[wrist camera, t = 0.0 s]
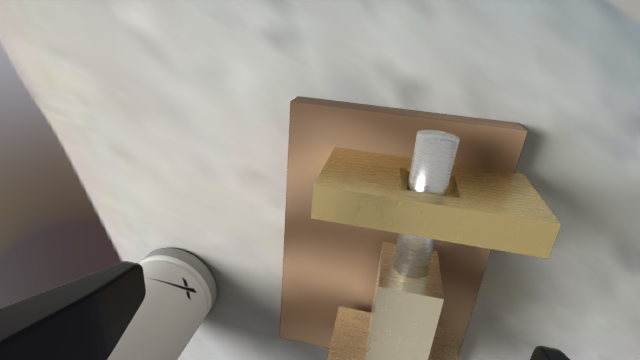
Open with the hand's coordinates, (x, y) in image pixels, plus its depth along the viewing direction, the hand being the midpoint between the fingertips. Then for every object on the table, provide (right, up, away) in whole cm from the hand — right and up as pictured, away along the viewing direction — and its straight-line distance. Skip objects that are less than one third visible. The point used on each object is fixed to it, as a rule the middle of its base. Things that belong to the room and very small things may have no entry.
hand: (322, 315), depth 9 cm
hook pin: (+5, 0, +13) cm, 14 cm away
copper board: (+4, -1, +16) cm, 16 cm away
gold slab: (+6, +3, +12) cm, 14 cm away
